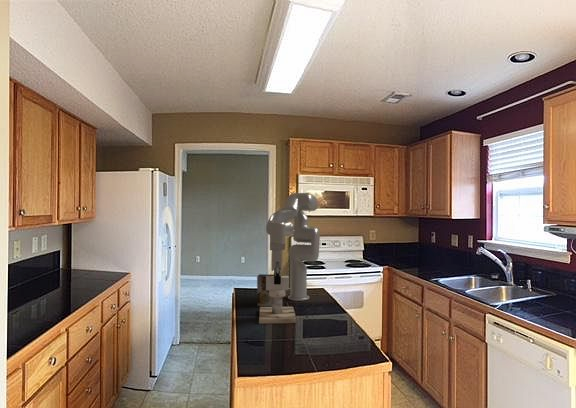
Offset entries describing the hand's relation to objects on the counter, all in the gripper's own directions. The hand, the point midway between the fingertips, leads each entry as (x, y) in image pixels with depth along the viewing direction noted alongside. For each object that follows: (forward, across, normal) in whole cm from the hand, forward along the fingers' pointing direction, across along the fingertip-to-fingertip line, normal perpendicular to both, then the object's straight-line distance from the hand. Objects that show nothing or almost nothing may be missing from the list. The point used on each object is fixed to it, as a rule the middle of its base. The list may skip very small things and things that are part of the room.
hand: (277, 282), depth 170 cm
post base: (+17, 0, 0) cm, 17 cm away
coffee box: (+17, -22, -5) cm, 28 cm away
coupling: (+6, +1, 0) cm, 6 cm away
